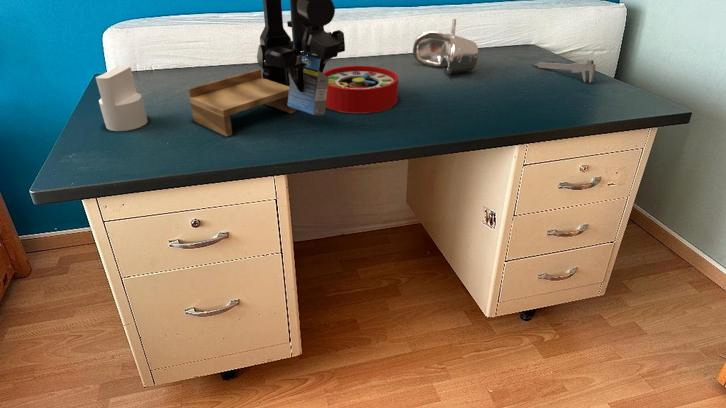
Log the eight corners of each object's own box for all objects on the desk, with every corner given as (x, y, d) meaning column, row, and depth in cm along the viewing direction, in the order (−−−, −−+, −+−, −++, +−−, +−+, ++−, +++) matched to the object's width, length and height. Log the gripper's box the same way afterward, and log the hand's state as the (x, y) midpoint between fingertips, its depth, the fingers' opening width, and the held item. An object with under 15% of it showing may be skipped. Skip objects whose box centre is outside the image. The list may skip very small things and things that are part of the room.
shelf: (261, 99, 130) (258, 68, 126) (295, 111, 123) (293, 79, 119) (193, 121, 117) (187, 88, 113) (226, 136, 110) (221, 101, 106)
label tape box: (325, 115, 114) (333, 59, 110) (312, 115, 111) (320, 58, 107) (298, 106, 119) (305, 52, 115) (285, 106, 116) (292, 51, 111)
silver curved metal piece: (411, 65, 157) (413, 16, 150) (439, 59, 163) (442, 12, 155) (449, 79, 144) (454, 27, 137) (478, 73, 150) (484, 22, 142)
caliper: (592, 83, 142) (598, 61, 139) (590, 84, 141) (595, 61, 138) (536, 65, 157) (540, 45, 153) (534, 66, 156) (537, 45, 153)
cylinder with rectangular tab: (133, 132, 112) (120, 79, 106) (97, 129, 113) (81, 77, 107) (155, 117, 120) (143, 67, 113) (120, 115, 121) (107, 65, 115)
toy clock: (304, 82, 123) (341, 62, 139) (305, 105, 126) (341, 83, 142) (379, 94, 116) (409, 71, 132) (378, 118, 119) (408, 93, 135)
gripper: (296, 30, 94) (302, 109, 103) (363, 15, 106) (363, 87, 115) (259, 21, 101) (267, 96, 109) (326, 8, 113) (328, 76, 121)
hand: (308, 89), depth 113 cm, fingers closed on label tape box, 4 cm apart
